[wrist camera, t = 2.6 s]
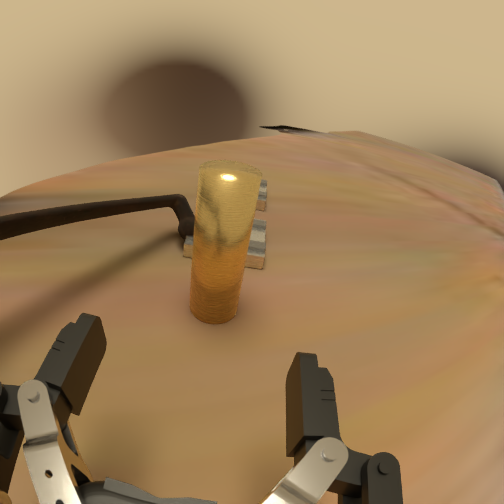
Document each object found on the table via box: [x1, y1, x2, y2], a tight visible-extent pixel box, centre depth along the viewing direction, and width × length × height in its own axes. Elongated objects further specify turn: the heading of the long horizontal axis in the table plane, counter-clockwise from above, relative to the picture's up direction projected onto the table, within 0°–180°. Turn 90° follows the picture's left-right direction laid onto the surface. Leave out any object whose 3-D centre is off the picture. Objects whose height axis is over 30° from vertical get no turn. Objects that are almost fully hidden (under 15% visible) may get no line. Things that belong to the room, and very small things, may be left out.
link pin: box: [190, 160, 262, 324], centre depth 23 cm, size 4×4×12 cm
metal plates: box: [183, 180, 267, 269], centre depth 39 cm, size 8×20×2 cm, turn 177°
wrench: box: [0, 194, 195, 240], centre depth 20 cm, size 5×5×30 cm
